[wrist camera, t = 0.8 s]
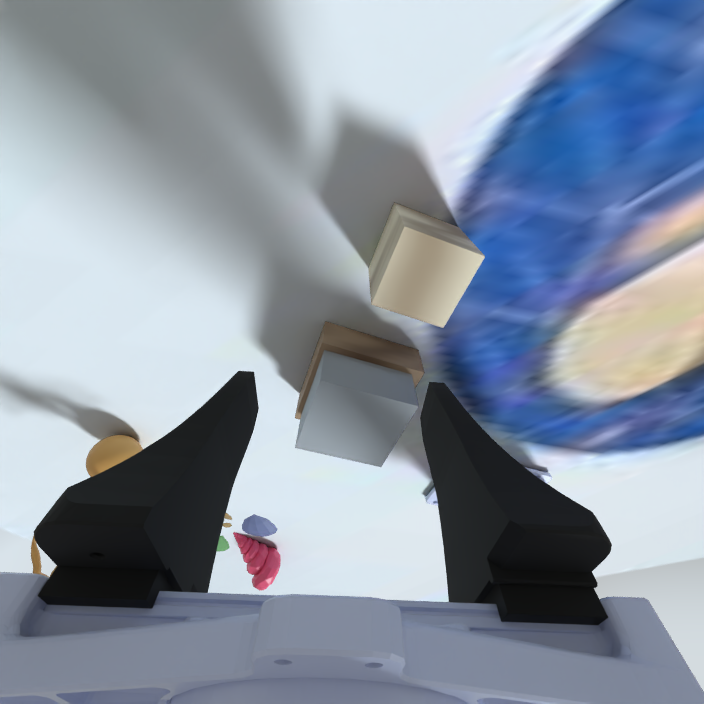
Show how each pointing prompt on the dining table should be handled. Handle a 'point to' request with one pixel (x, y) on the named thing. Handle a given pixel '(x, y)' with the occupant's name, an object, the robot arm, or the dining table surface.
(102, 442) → the figurine
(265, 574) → the toy pieces
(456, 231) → the birch block
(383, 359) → the walnut block
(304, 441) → the slate grey block
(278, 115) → the dining table surface
